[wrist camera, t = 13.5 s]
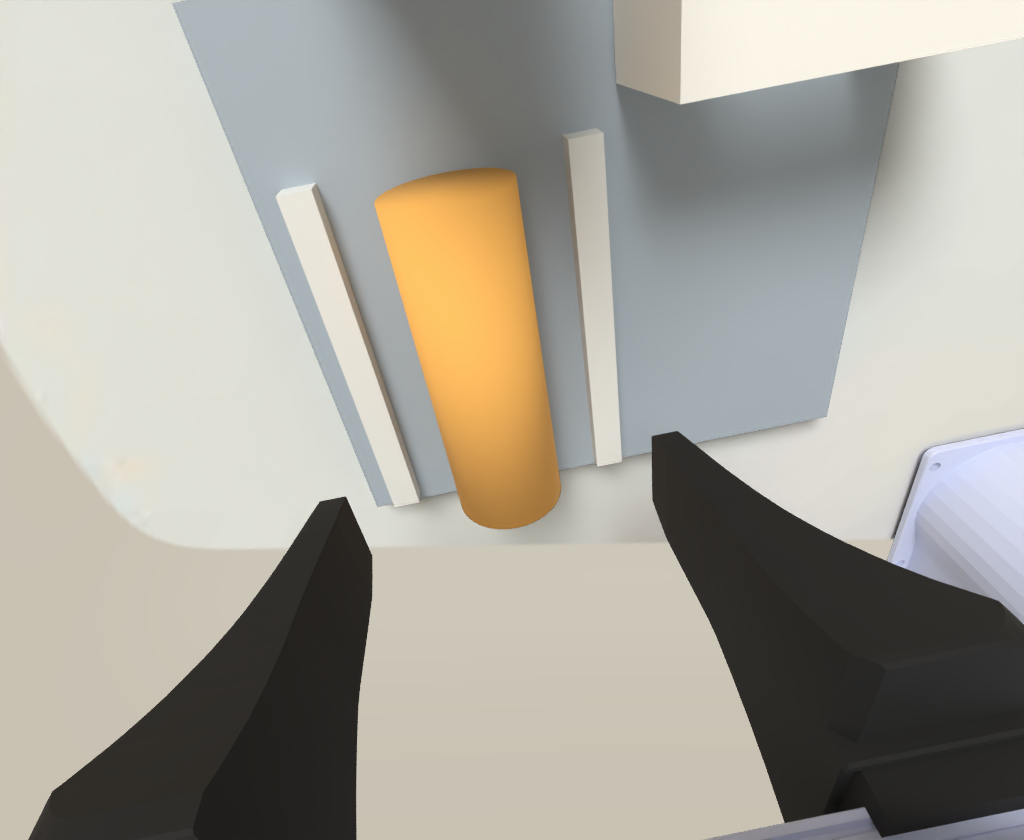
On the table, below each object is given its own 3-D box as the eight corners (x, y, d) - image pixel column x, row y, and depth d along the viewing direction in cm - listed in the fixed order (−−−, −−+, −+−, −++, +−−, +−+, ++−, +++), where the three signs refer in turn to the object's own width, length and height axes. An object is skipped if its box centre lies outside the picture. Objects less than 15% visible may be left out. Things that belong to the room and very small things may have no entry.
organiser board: (810, 401, 25) (837, 427, 23) (379, 487, 25) (376, 520, 23) (908, -134, 15) (967, -153, 13) (188, 4, 15) (159, 2, 13)
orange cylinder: (548, 449, 23) (572, 514, 20) (456, 471, 23) (466, 540, 20) (503, 159, 17) (529, 190, 14) (375, 186, 17) (372, 223, 13)
